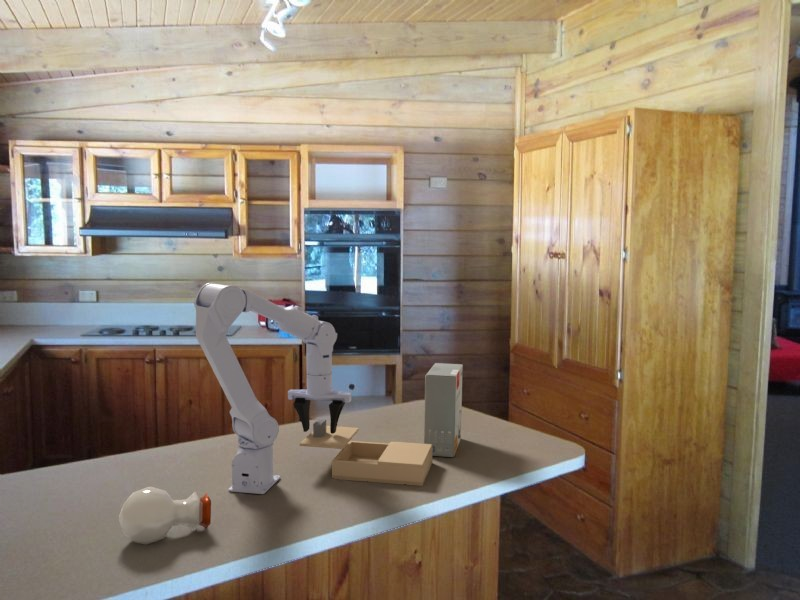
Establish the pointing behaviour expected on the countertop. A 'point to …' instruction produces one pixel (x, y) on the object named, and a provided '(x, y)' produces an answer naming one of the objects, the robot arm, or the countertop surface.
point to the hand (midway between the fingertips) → (319, 431)
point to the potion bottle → (161, 514)
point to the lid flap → (328, 436)
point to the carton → (383, 462)
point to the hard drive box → (443, 408)
